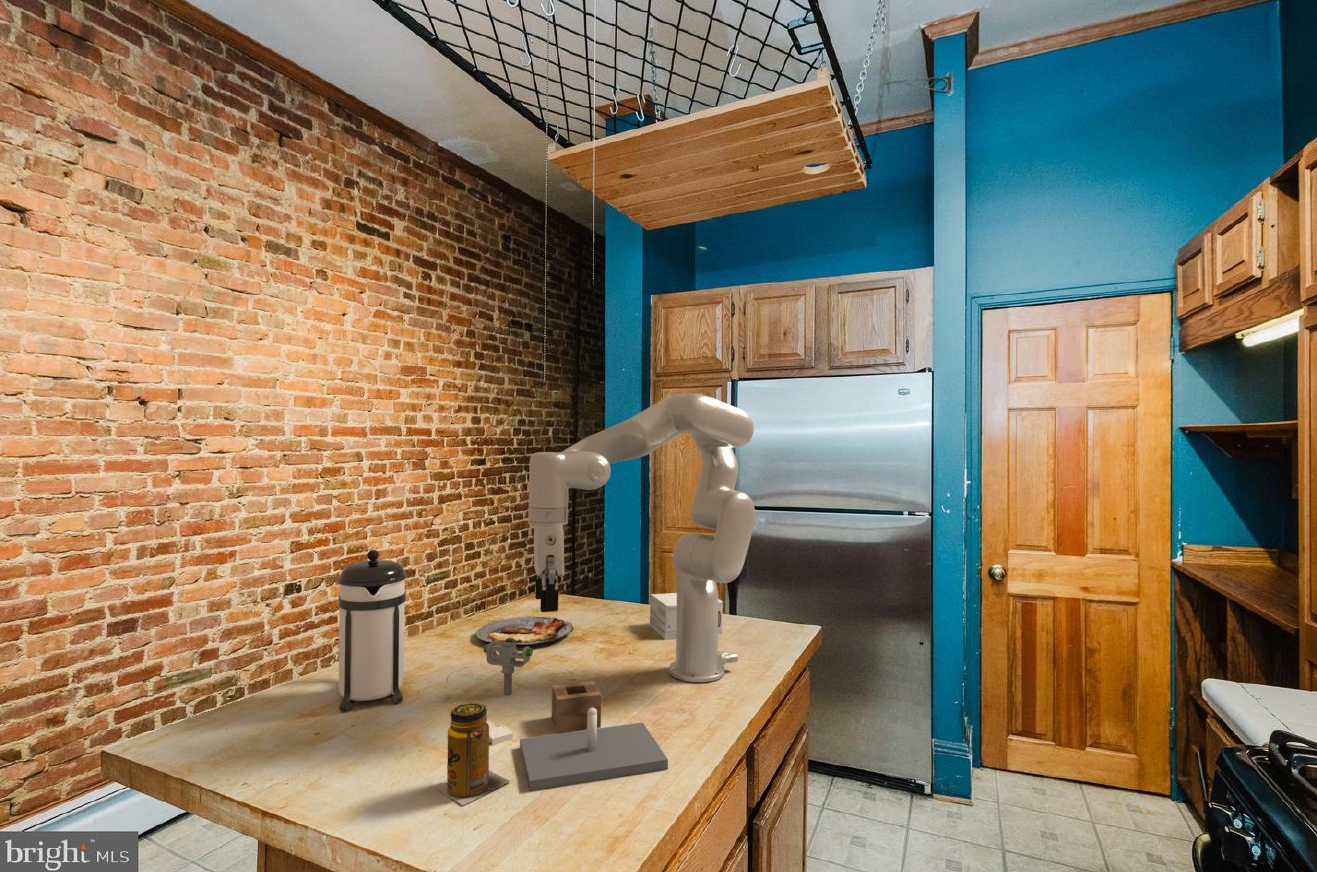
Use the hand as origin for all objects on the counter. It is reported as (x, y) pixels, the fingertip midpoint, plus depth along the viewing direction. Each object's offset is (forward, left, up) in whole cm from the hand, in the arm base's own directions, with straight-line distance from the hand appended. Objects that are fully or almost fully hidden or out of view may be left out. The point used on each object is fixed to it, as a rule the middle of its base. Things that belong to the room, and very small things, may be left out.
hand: (546, 604), depth 124 cm
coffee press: (+33, -19, -21) cm, 43 cm away
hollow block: (-5, +5, -21) cm, 22 cm away
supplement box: (-45, -43, -21) cm, 65 cm away
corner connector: (+12, +6, -22) cm, 26 cm away
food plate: (-2, -50, -21) cm, 54 cm away
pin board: (-5, +19, -21) cm, 29 cm away
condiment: (+14, +22, -21) cm, 34 cm away
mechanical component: (+6, -12, -21) cm, 25 cm away
